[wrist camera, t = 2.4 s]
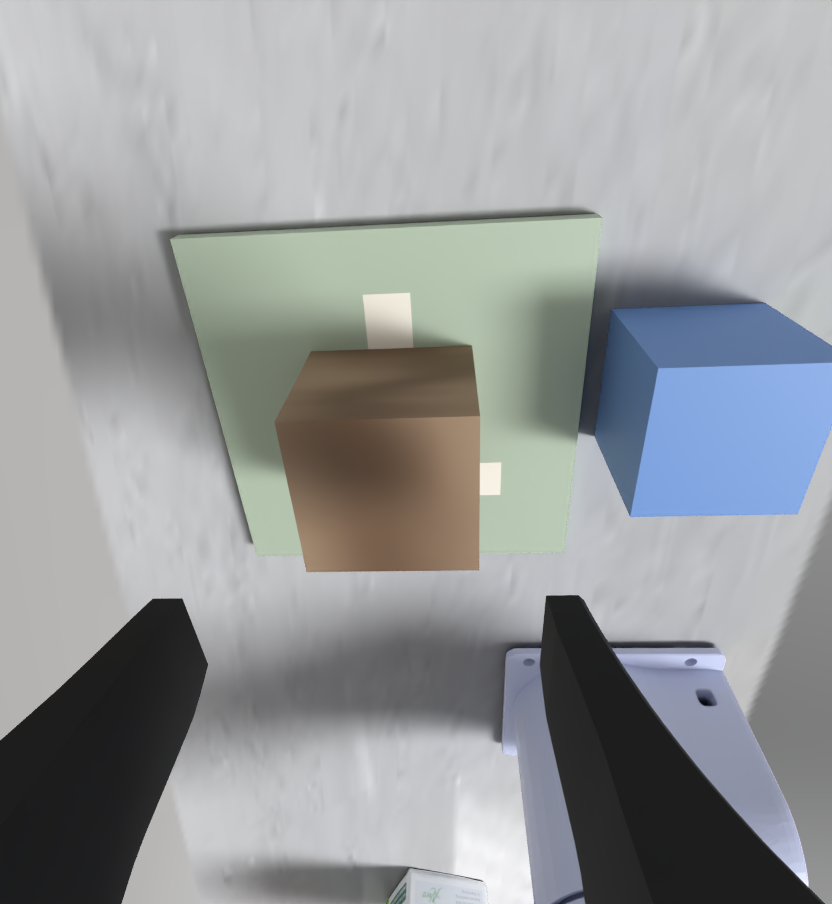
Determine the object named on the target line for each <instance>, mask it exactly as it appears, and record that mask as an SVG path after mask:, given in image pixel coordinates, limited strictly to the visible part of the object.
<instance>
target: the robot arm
mask: <svg viewBox="0 0 832 904" xmlns="http://www.w3.org/2000/svg"><path fill="white" fill-rule="evenodd" d="M725 662H726V657H725V655H724V653H723V652H722V650H720V649H718V648H611V646H610V645H609V643H608V641H607V640H606V638H605V637H604V635H603V633H602V632H601V630H600V628H599V627H598V625H597V623H596V621H595V620H594V618H593V616H592V614H591V613H590V611H589V609H588V607H587V605H586V603H585V601H584V600H583V599H582V598H581V597H580V596H579V595H566V596H546V603H545V614H544V624H543V634H542V645H541V648H515V649H512V650H509V651H508V652H507V653H506V659H505V681H504V703H503V724H502V751H503V753H505V754H506V755H510V756H518V763H519V772H520V781H521V790H522V799H523V808H524V817H525V826H526V835H527V844H528V853H529V861H530V870H531V879H532V888H533V897H534V904H825V903H824V902H823V901H822V900H821V899H819V897H818V896H817V895H815V893H813V891H812V890H810V888H809V885H808V875H807V869H806V864H805V858H804V855H803V850H802V846H801V842H800V839H799V835H798V832H797V829H796V826H795V823H794V820H793V817H792V815H791V812H790V809H789V807H788V805H787V803H786V800H785V798H784V796H783V794H782V792H781V790H780V788H779V785H778V783H777V782H776V779H775V777H774V775H773V773H772V771H771V769H770V767H769V765H768V763H767V761H766V759H765V757H764V755H763V753H762V751H761V749H760V746H759V745H758V742H757V740H756V738H755V737H754V734H753V732H752V730H751V728H750V726H749V724H748V722H747V720H746V718H745V716H744V714H743V712H742V710H741V707H740V705H739V703H738V701H737V699H736V697H735V695H734V693H733V691H732V689H731V687H730V685H729V683H728V681H727V679H726V677H725V675H724V673H723V671H722V670H723V668H724V665H725ZM207 667H208V663H207V661H206V658H205V656H204V653H203V651H202V648H201V645H200V643H199V640H198V638H197V635H196V633H195V630H194V627H193V625H192V622H191V620H190V617H189V615H188V612H187V609H186V607H185V604H184V602H183V599H152V600H151V601H150V602H149V603H148V604H147V605H146V606H145V607H144V608H142V609H141V610H140V611H139V612H138V613H137V614H136V615H135V616H134V617H133V618H132V619H131V620H130V621H129V622H128V623H127V624H126V625H125V626H124V627H123V628H122V629H121V630H120V631H119V632H118V633H117V634H116V635H115V636H114V637H113V638H112V639H111V640H109V641H108V642H107V643H106V644H105V645H104V646H103V647H102V648H101V649H100V650H99V651H98V652H97V653H96V654H95V655H94V656H93V657H92V658H91V659H90V660H89V661H88V662H87V663H85V665H83V666H82V667H81V668H80V669H79V670H78V671H77V672H76V673H75V674H74V675H73V676H72V677H71V678H70V679H69V680H68V681H67V682H66V683H64V685H62V686H61V687H60V688H59V689H58V690H57V691H56V692H55V693H54V694H53V695H51V696H50V697H49V698H48V699H47V700H46V701H45V702H43V703H42V704H41V705H40V706H39V707H38V708H37V709H35V710H34V711H33V712H32V713H31V714H30V715H29V716H28V717H26V719H24V720H23V721H22V722H21V723H20V724H19V725H17V726H16V727H15V728H14V729H13V730H12V731H11V732H10V733H8V735H6V736H5V737H4V738H3V739H2V740H0V904H121V903H122V900H123V897H124V894H125V890H126V887H127V884H128V881H129V878H130V875H131V871H132V868H133V865H134V862H135V860H136V857H137V854H138V852H139V849H140V846H141V844H142V841H143V838H144V836H145V833H146V831H147V828H148V826H149V824H150V821H151V819H152V816H153V814H154V812H155V809H156V807H157V804H158V802H159V799H160V797H161V795H162V792H163V790H164V787H165V785H166V783H167V780H168V778H169V776H170V773H171V771H172V768H173V766H174V764H175V761H176V759H177V756H178V754H179V751H180V749H181V747H182V744H183V742H184V739H185V737H186V734H187V732H188V729H189V727H190V724H191V722H192V719H193V717H194V714H195V710H196V707H197V703H198V700H199V697H200V693H201V690H202V686H203V682H204V678H205V674H206V671H207Z"/></svg>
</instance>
